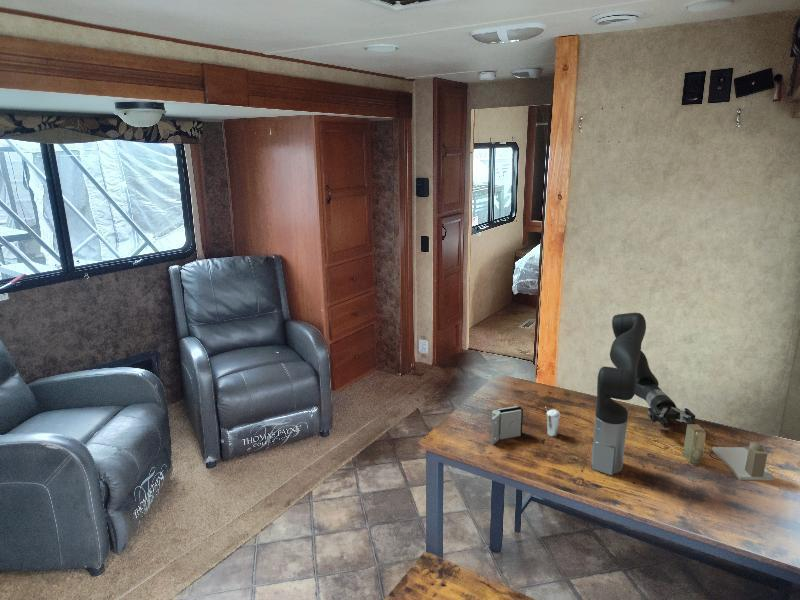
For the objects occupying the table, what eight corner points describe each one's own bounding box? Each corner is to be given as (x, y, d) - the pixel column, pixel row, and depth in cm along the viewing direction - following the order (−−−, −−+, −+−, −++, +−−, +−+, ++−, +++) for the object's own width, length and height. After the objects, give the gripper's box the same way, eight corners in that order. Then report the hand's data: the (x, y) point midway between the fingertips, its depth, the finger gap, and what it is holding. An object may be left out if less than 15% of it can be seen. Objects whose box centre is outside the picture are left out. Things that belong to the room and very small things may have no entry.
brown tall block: (683, 454, 174) (687, 424, 171) (693, 454, 174) (698, 424, 171) (692, 466, 168) (696, 435, 165) (703, 466, 168) (708, 435, 164)
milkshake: (546, 428, 192) (548, 403, 189) (560, 433, 188) (562, 408, 186) (541, 434, 188) (542, 408, 186) (555, 438, 185) (557, 413, 182)
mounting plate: (712, 449, 176) (716, 422, 173) (743, 450, 176) (748, 422, 173) (739, 479, 160) (744, 450, 158) (774, 480, 160) (780, 451, 157)
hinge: (492, 445, 182) (492, 419, 179) (482, 438, 187) (483, 412, 184) (523, 435, 188) (524, 409, 185) (514, 428, 193) (514, 403, 190)
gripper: (641, 394, 195) (659, 415, 179) (681, 394, 194) (703, 416, 178) (639, 412, 197) (657, 435, 181) (679, 412, 196) (700, 435, 180)
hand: (680, 425), depth 180 cm, fingers open, 8 cm apart
